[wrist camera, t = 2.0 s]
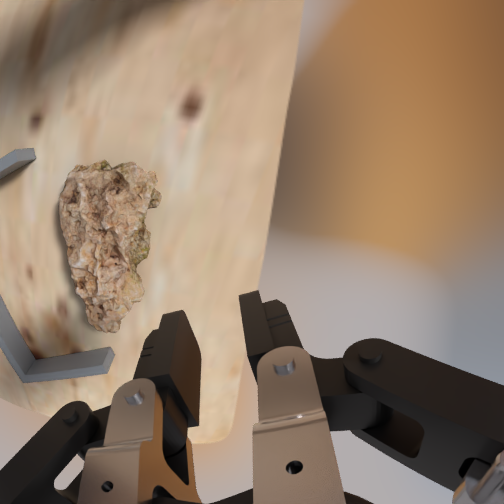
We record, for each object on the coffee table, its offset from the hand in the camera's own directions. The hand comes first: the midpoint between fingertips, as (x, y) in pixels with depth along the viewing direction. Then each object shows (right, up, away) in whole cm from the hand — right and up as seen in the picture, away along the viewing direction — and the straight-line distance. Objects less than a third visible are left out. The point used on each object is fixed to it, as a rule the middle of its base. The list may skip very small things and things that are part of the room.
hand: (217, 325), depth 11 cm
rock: (-12, +4, +18) cm, 22 cm away
